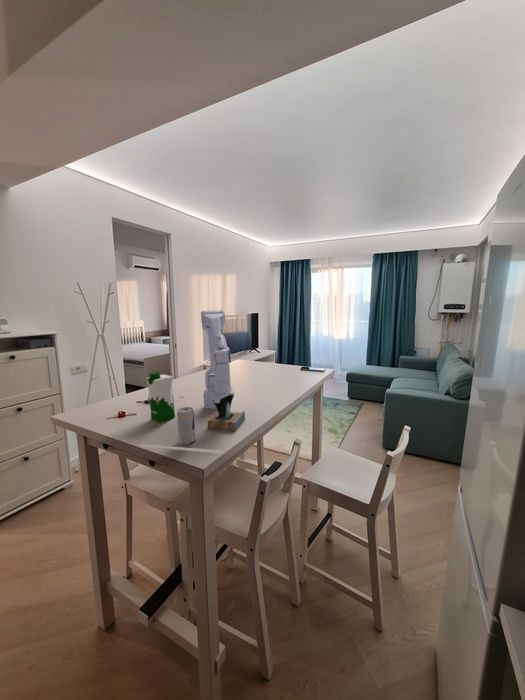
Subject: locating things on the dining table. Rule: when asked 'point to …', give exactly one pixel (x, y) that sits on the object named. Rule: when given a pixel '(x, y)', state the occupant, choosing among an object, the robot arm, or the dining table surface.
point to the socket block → (222, 421)
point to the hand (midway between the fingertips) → (224, 415)
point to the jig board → (238, 421)
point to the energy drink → (186, 425)
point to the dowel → (227, 413)
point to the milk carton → (161, 397)
